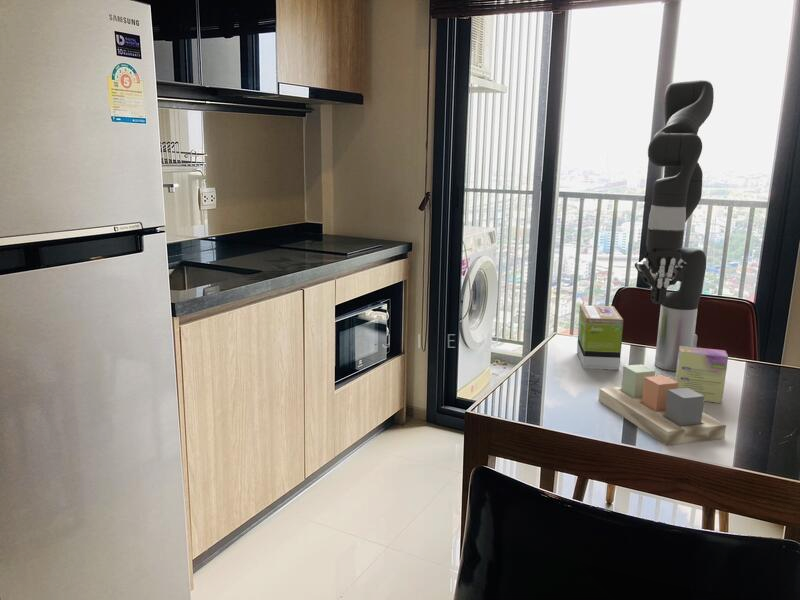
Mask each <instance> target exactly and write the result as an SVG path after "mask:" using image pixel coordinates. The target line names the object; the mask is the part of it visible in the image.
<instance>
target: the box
mask: <svg viewBox="0 0 800 600" xmlns="http://www.w3.org/2000/svg"><path fill="white" fill-rule="evenodd" d="M728 360H729V355H728V353H727V351H726V350H725V349H724V350H723V349H716V348H715V349H713V348H705V347H704V348H703V347H697V346H696V347H688V346H679V353H678V361H677V369H676V371H675V378H674V381H676V382H678V383H679V384H678V389H680V388H689V389H691V390H693V391H695V392H697V393H699V394H701V395H703V396H704V402H710V403H711V402H712V403H716V404H723V398H724V391H725V390H724V389H725V383H726V375H727V367H728Z"/></svg>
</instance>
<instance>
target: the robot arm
mask: <svg viewBox="0 0 800 600" xmlns="http://www.w3.org/2000/svg"><path fill="white" fill-rule="evenodd" d="M714 93H715V92H714V87H713V84H712V83H711V81H709V80H703V79H702V80H690V81H689V80H688V81H677V82H676V81H675V82H672V83H671V82H669V84H668V85H667V86H666V88H665V93H664V102H663V103H664V104H663V105H664V127H663V128H662V129H660V130H659V131H658V132H656V133H655V134H654V136H653V137H652V138H651V141H650V142H649V144H648V146H647V147H648V148H647V156H648V159H649V162H650V163H651V164H652V165H655V166H656V167H660V168H661V167H664V169H663V177H662V178H658V179H656V180H655V181H654V182H653V187H652V197H651V206H650V212H649V215H648V223H647V224H648V225H647V233H646V241H645V246H646V253H644V256H643V257H644V258H643V259H642V260H641V261H640V262H637V261H636V262H635V263H634V267H635V270H637V273H638V274H639V276H640V278H641V279H642V281H643V283H644V284H646V285H648V286H651V293H650V294H651V295H650V301H651V302H652V304H655V305H660V309H659V311H660V312H659V320H658V327H657V328H658V329H657V336H656V338H657V340H656V348H655V355H654V356H655V358H654V366H655V367H656V368H657V367H658V368H660V369H662V370H666V371H669V372H670V371H671V372H676V369H677V361H678V353H679V346H688V347H697V343H698V335H697V334H696V325H697V316H698V308H699V303H700V299H701V297H702V292H703V286H704V280H705V276H706V269H707V256H706V254H705V252H704V251H703V250H702V249H699V248H693V247H687V246H683V245H684V236H685V228H686V224H687V223H686V222H688V219H689V218H690V216H691V215H692V214H693V213H694V211H695V210H696V208H697V207H698V205H699V203H700V202H701V199H702V196H703V195H702V193H703V169H702V168H701V165H700V163H699V159H700V157H701V154H702V151H703V142H702V139H701V138H700V136H699V135H698V133H699V129H700V127H702V125H703V124H704V123H705V121H707V119H708V118H709V116H710V114H711V113H712V110H713V106H714ZM677 282H680V287H679V289H678V290H676V291H671V292H670V291H669V292H668V291H667V290H668V288H669V286H674V285H676V284H677Z"/></svg>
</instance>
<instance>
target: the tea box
mask: <svg viewBox="0 0 800 600" xmlns="http://www.w3.org/2000/svg"><path fill="white" fill-rule="evenodd" d="M578 311H579V313H578V315H579V316H578V329H577V330H578V333H577V346H576V347H577V348H576V352H577V356H578V357H579V361H580V363H581V366H582V368H583V369H584V368H589V369H588V370H601V369H608V370H607V371H619V370H620V368H621V354H622V344H623V343H622V340H623V331H624V330H623V329H624V319H623V317H622V316H621V315H620V313H619V312H618V310H617V309H616V308H615V306H614V305H611V306H610V305H583V304H582V305H581V304H580V305H579V310H578Z"/></svg>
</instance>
